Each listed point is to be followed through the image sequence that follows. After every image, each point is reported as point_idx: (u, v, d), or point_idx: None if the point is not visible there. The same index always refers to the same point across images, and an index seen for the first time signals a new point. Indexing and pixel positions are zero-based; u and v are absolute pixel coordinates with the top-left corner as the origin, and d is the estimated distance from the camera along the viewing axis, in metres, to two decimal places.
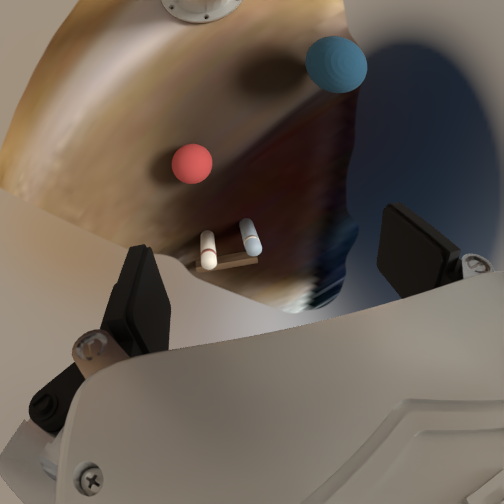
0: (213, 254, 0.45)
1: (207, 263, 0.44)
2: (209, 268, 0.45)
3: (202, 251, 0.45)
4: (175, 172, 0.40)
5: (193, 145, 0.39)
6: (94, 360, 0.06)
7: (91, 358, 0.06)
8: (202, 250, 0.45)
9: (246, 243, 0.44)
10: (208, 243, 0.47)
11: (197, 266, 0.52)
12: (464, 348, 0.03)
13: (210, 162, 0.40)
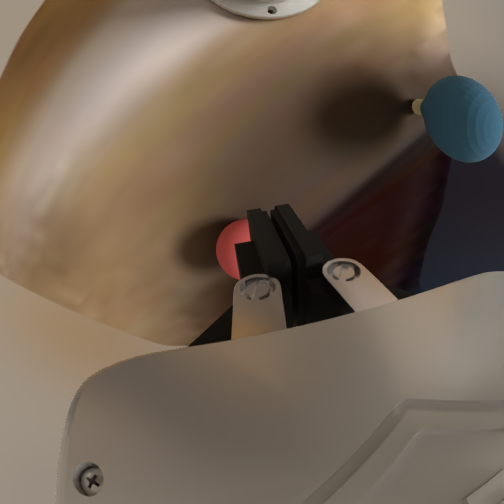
0: None
1: None
2: None
3: None
4: (224, 267, 0.27)
5: None
6: (251, 301, 0.07)
7: (250, 298, 0.07)
8: None
9: None
10: None
11: None
12: (464, 348, 0.03)
13: None
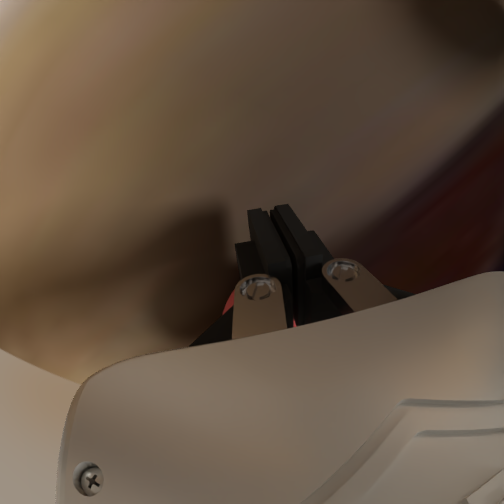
0: None
1: None
2: None
3: None
4: None
5: None
6: (252, 301, 0.07)
7: (251, 298, 0.07)
8: None
9: None
10: None
11: None
12: (464, 348, 0.03)
13: None
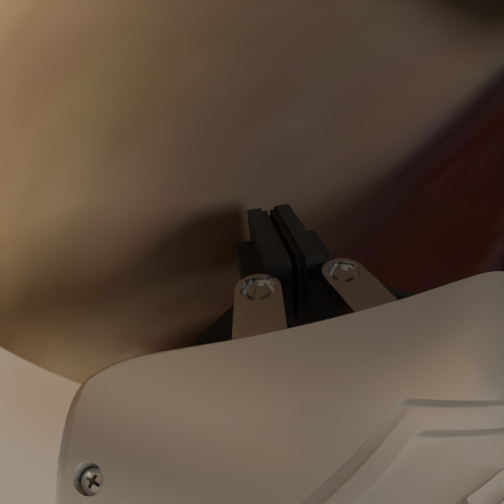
0: None
1: None
2: None
3: None
4: None
5: None
6: (252, 301, 0.07)
7: (251, 298, 0.07)
8: None
9: None
10: None
11: None
12: (464, 348, 0.03)
13: None
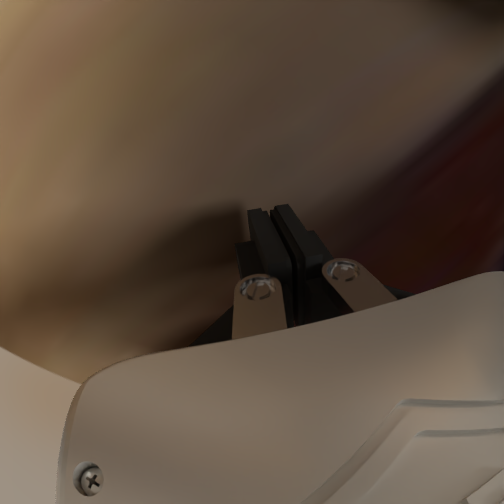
0: None
1: None
2: None
3: None
4: None
5: None
6: (252, 301, 0.07)
7: (251, 298, 0.07)
8: None
9: None
10: None
11: None
12: (464, 348, 0.03)
13: None
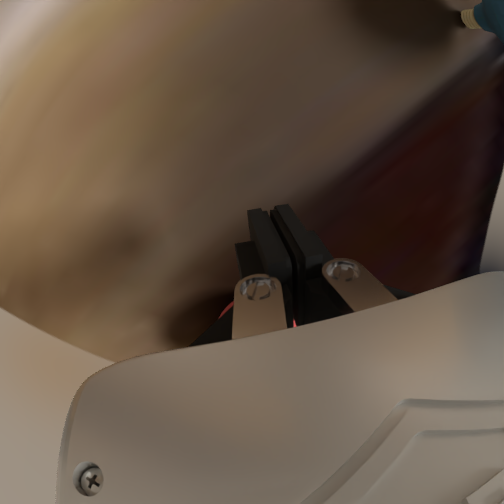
0: None
1: None
2: None
3: None
4: None
5: None
6: (252, 301, 0.07)
7: (251, 298, 0.07)
8: None
9: None
10: None
11: None
12: (464, 348, 0.03)
13: None
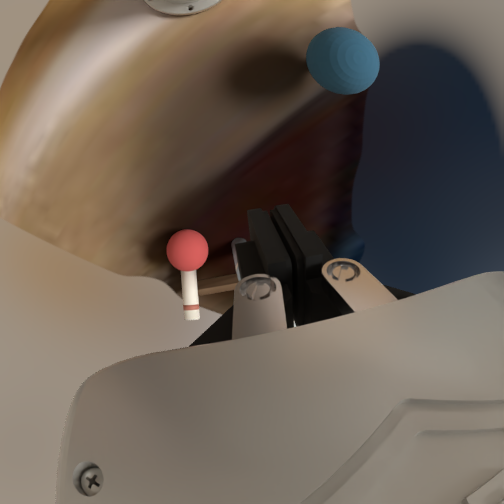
0: (188, 314, 0.43)
1: None
2: None
3: None
4: None
5: None
6: (252, 301, 0.07)
7: (251, 298, 0.07)
8: None
9: (238, 269, 0.39)
10: (183, 296, 0.44)
11: None
12: (464, 348, 0.03)
13: None
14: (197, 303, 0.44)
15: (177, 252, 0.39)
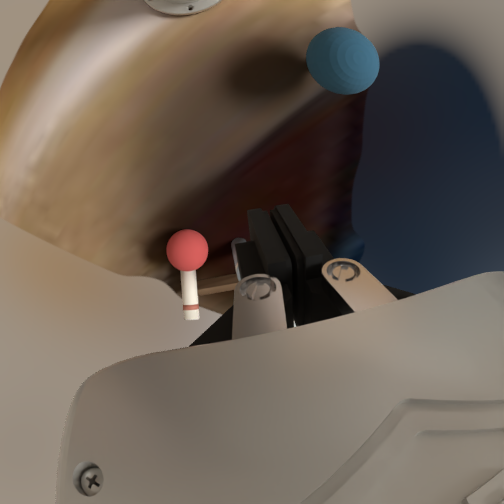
0: (187, 314, 0.43)
1: None
2: None
3: None
4: None
5: None
6: (252, 301, 0.07)
7: (251, 298, 0.07)
8: None
9: (237, 269, 0.39)
10: (182, 295, 0.44)
11: None
12: (464, 348, 0.03)
13: None
14: (196, 303, 0.44)
15: (177, 252, 0.39)
